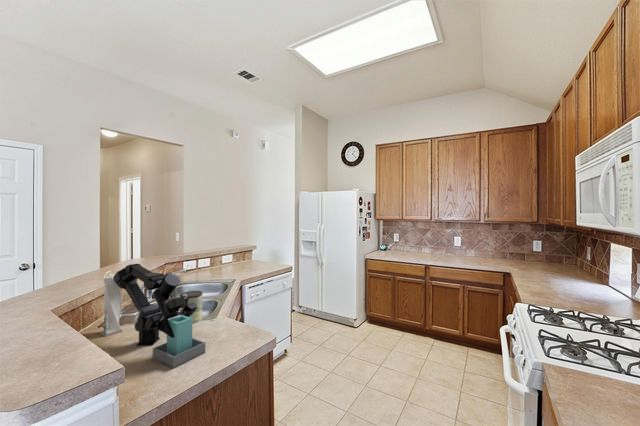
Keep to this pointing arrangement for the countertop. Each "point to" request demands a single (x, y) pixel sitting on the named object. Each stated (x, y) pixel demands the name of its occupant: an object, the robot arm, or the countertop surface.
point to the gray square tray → (177, 360)
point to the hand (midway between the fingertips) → (181, 334)
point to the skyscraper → (111, 306)
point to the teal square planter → (180, 335)
